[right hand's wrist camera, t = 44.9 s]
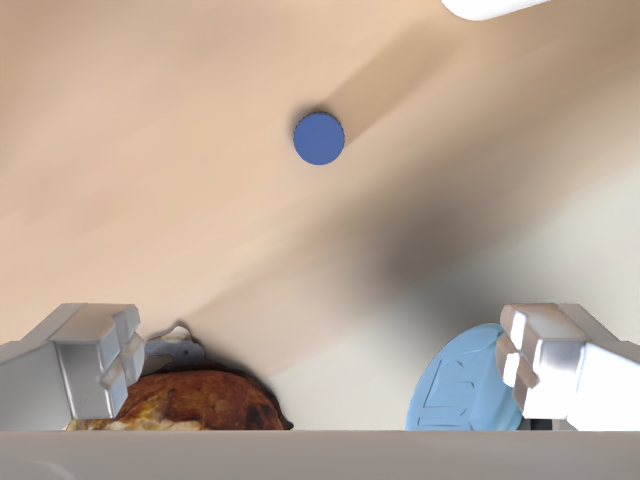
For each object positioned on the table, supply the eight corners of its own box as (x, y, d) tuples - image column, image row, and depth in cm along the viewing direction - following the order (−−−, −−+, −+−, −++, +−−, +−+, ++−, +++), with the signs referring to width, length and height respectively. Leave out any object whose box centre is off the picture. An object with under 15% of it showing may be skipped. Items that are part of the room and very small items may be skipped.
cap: (325, 101, 40) (326, 102, 38) (353, 143, 41) (354, 146, 40) (284, 130, 41) (282, 132, 39) (312, 170, 42) (312, 175, 40)
